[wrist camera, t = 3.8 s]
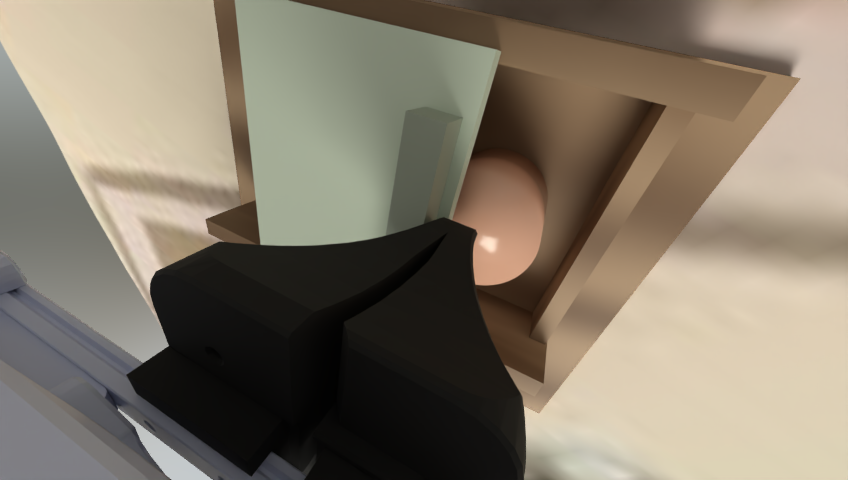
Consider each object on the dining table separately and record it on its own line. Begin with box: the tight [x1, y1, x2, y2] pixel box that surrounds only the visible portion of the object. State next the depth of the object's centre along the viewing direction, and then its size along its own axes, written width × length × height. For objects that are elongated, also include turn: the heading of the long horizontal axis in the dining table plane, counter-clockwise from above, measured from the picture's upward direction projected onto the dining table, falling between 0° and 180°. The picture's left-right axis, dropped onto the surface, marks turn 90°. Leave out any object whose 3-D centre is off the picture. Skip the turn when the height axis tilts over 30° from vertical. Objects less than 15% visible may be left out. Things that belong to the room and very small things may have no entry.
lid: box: [235, 0, 501, 246], centre depth 12 cm, size 12×9×2 cm
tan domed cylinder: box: [452, 148, 548, 285], centre depth 13 cm, size 5×5×4 cm
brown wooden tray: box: [206, 0, 800, 413], centre depth 16 cm, size 20×25×5 cm
